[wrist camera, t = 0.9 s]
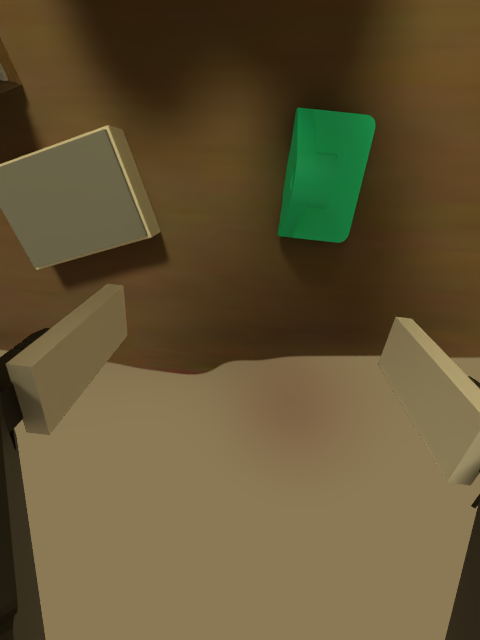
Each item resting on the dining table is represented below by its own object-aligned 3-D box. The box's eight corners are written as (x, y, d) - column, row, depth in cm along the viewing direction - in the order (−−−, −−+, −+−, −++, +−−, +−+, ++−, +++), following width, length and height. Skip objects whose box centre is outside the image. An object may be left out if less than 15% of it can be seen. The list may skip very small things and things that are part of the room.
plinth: (5, 171, 35) (-24, 171, 32) (122, 129, 33) (105, 124, 29) (54, 262, 40) (34, 271, 36) (160, 231, 37) (150, 238, 34)
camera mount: (341, 238, 37) (368, 261, 27) (277, 231, 37) (282, 252, 27) (369, 120, 31) (415, 98, 22) (294, 112, 31) (309, 87, 22)
